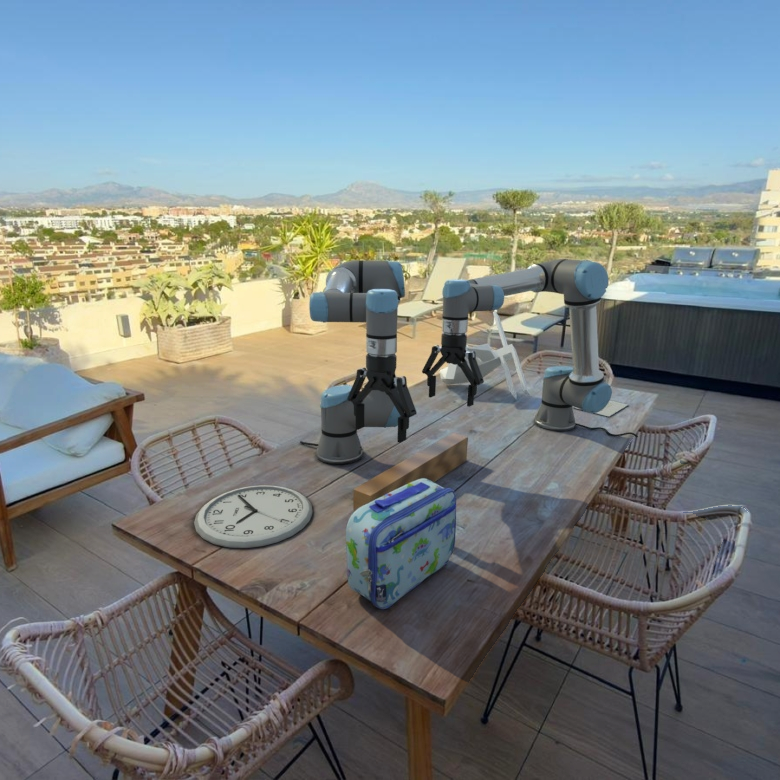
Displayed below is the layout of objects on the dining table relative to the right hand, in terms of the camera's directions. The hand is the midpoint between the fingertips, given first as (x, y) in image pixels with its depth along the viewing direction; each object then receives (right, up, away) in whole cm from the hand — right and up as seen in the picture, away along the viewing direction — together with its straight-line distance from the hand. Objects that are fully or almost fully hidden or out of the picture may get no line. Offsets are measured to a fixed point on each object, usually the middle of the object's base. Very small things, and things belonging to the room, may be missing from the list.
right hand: (450, 400), depth 161 cm
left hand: (-21, -8, -27) cm, 35 cm away
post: (-11, -25, -7) cm, 28 cm away
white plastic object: (+23, +2, +82) cm, 85 cm away
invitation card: (+73, -4, +65) cm, 98 cm away
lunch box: (-16, -38, -48) cm, 63 cm away
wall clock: (-54, -30, -24) cm, 66 cm away
